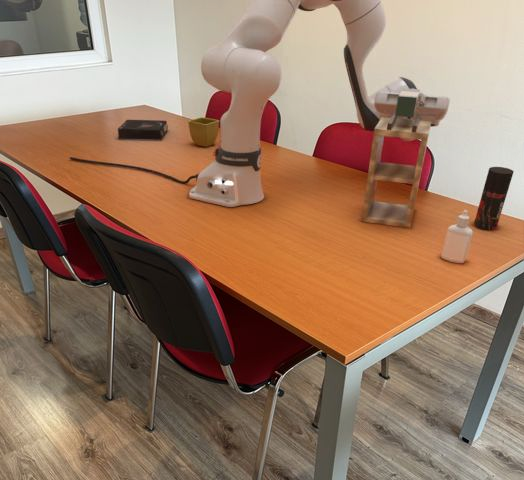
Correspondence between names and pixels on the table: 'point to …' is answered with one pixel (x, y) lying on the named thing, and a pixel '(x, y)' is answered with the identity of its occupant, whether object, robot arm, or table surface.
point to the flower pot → (203, 131)
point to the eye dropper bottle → (457, 240)
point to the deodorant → (493, 198)
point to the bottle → (407, 102)
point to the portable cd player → (142, 130)
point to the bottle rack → (394, 171)
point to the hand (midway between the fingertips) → (411, 93)
